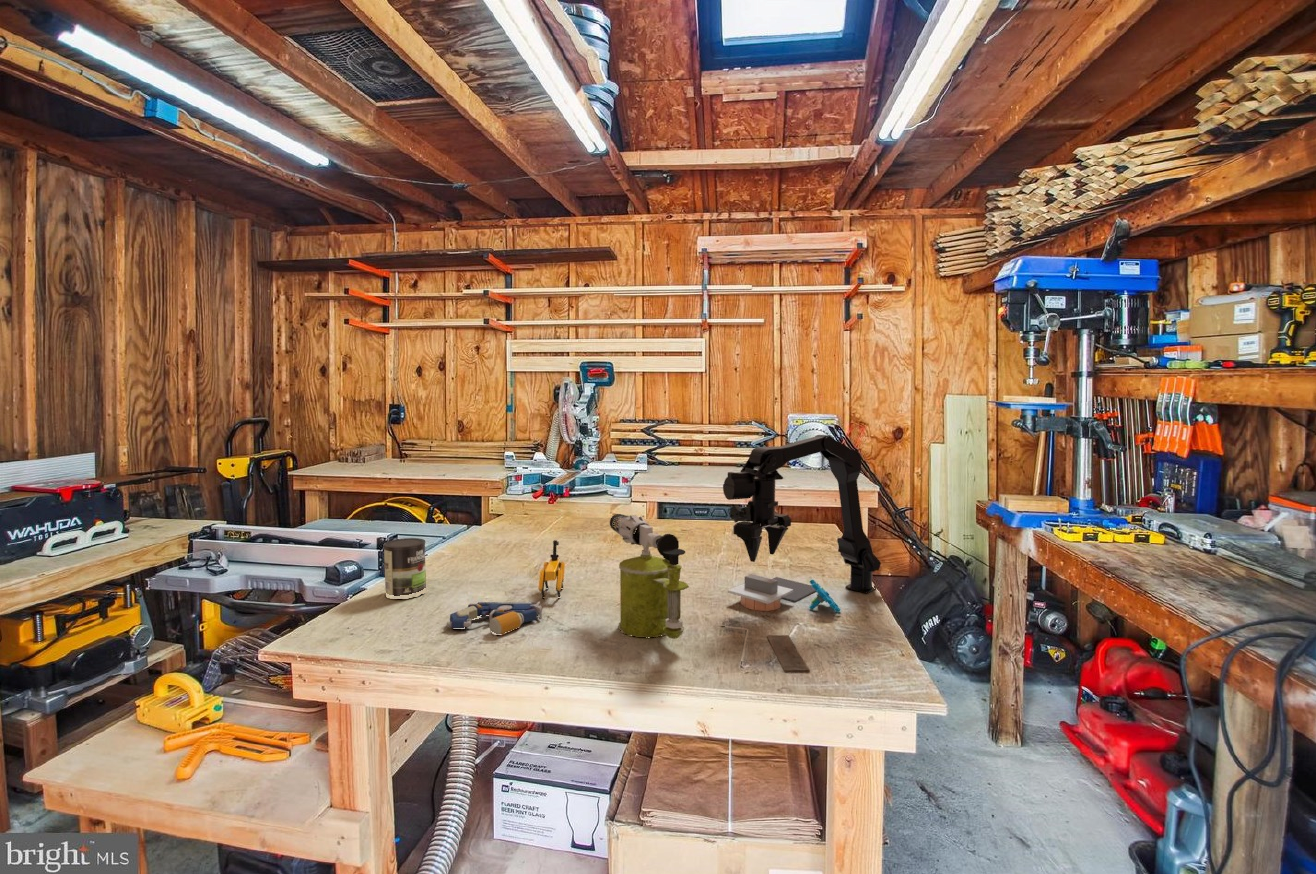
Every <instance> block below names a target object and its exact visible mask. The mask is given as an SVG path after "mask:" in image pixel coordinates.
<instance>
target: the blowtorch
mask: <svg viewBox="0 0 1316 874" xmlns="http://www.w3.org/2000/svg"><path fill="white" fill-rule="evenodd" d="M609 526H610V528H611V529H612V530H613V531H614V532H616V533H617V534H618V535H620V537H622V541H623V542H625V543H626V544H630V545H633V546H634V545H638V546H642V547H643V549H641V554H639V555H640V556H634V557H629V558H627V559H624V560H622V561H620V562H619V564H618V567H619V569H620V575H619V576H620V578H619V579H620V582H619V583H620V585H619V586H620V590H619V591H620V592H619V593H620V595H619V597H620V604H619V605H620V609H619V610H620V621H619V622H618V630H619V629H620V630H621V631H622V632H623V633H624V634H623V633H622V632H621V633H622V634H623V635H625V634H627V635H626V636H628V635H632V636H636V637H647V638H646V639H649V638H648V637H656V638H659V637H658V636H660V637H662V636H661V635H665V636H667V637H668V638H669V639H673V640H675V639H678V638H679V637H681V636H682V634H683V633H684V632H683V631H684V630H685V629H686V628H685V627H684V626H683V618H681V616H682V615H681V609H682V608H681V603H682V602H681V597H682V596H681V592H682V591H684V590H686V589H688V588H689V587H690V586H689V584H688V583H686V582H684V581H682V580H680V579H681V569H683V567H682V566H681V565H679V560H680V559H679V556H682V555H684V554H686V551H685V550H684V549H682V548H679V546H680V545H679V544H680V543H679V540H678V537H677V536H675V535H674V534H671V533H665V534H663V535H661V534H659V533H654V530H653V527H652V526H651V525H650V524H648V523H647V521H646V520H645V519H644V518H643V517H642V516H638V515H637V514H634V515H633V514H631V515H625V514H621V513H616V514H613V515H612V516H611V518H610V519H609ZM651 547H652V548H654V549H656V550H657V551H658V553H659V554H660V555H661V556H662V557H659V556H654V555H652V554H651V549H649V548H651ZM620 630H619V631H620ZM636 637H635V638H636Z"/></svg>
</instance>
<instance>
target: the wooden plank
mask: <svg viewBox="0 0 1316 874" xmlns="http://www.w3.org/2000/svg"><path fill="white" fill-rule="evenodd" d="M766 638H767V640H768V642H769V644H770V646H771V648H772V650H773V653H774V654H775V656H776V657H777V660H778V661H779V663H780V665H781V667H782V669H783V671H784V673H810V672H811V671H810V668H809V667H808V666H807V664H806V662H805V661H804V659H803V657H802V655H801V654H800V653H799V651H798V649H797V646H796V645H795V643H794V642H793V639H791V637H790V635H788V634H781V635H780V634H779V635H777V634H774V635H773V634H768V635H767V634H766Z"/></svg>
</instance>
